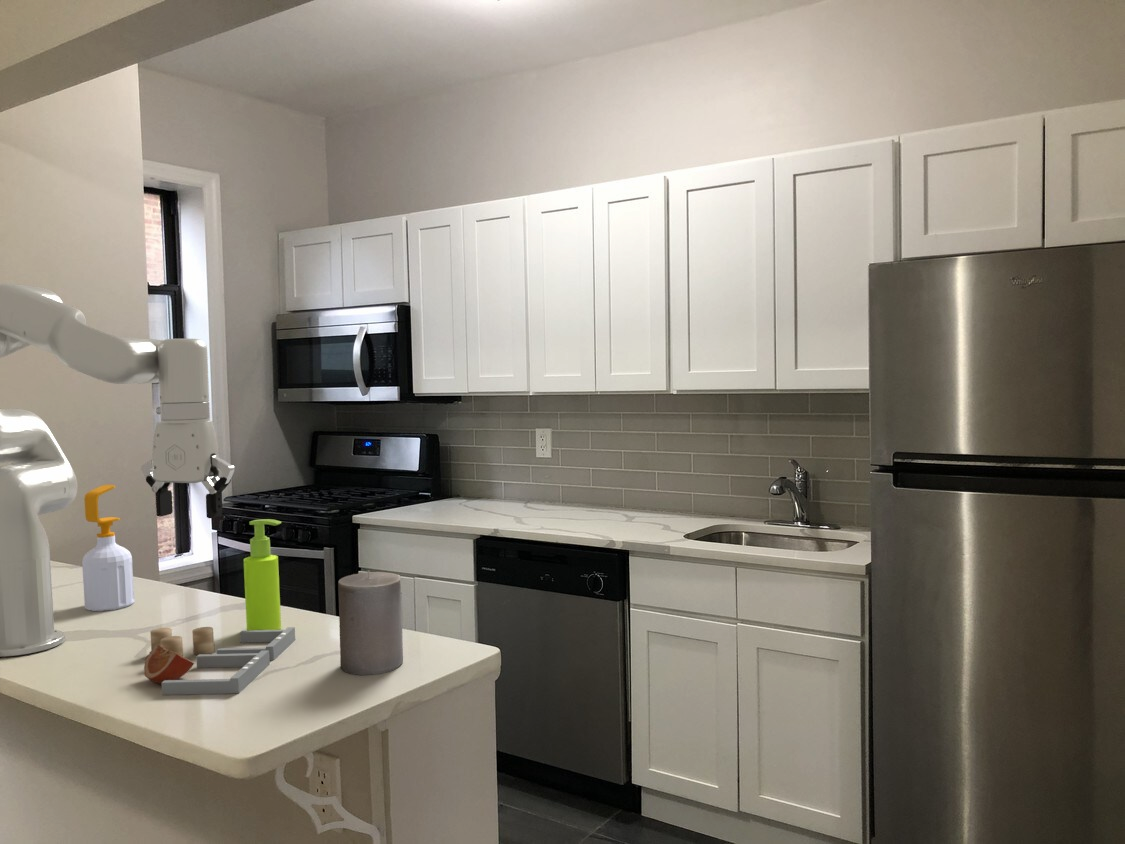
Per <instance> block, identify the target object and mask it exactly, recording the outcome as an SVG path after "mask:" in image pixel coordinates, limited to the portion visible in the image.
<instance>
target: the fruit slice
mask: <svg viewBox="0 0 1125 844" xmlns="http://www.w3.org/2000/svg"><path fill="white" fill-rule="evenodd" d="M194 665H195V662H193V661H191V660H189V659H188V658H186V657H185V656H184V655H183V656H181V655H179V654H177V653H175V652H172V651H171V649H169V650H167V649H165V648H163V647H161V646H159V645H157V644H156V645H155V646H154V648H153V649H152V651H151V650H150V651H149V654H148V655H147V656H146V657H145V662H144V666H143V673H144V676H145V677H146V678H147V679H148V680H149V681H151V682H154V683H158V684H162V682H163V681H164V680H179V679H180V678H181V677H184V676H185V674H187V673H188V672H189V671H190V670H191V669H192V667H193V666H194Z"/></svg>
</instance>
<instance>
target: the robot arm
mask: <svg viewBox="0 0 1125 844" xmlns="http://www.w3.org/2000/svg"><path fill="white" fill-rule="evenodd" d="M87 324H88V323H87V319H86V317H85V314H84V313H83V312H82V310H80V309H79V308H77V307H74V306H71V305H69V304H67V303H64V302H63V300H62V299H61V297H60V296H59V295H58V294H57V293H56V292H55V291H54V292H53V291H52V290H50V289H48V288H45V287H43V286H34V285H25V284H18V283H8V282H5V283H4V282H3V283H0V359H1V358H5V357H7V356H9V355H12V354H14V353H16V352H18V351H20V350H22V349H25V348H27V347H28V346H34V347H36V348H39V349H41V350H44V351H46V352H48V353H51V354H53V355H54V357H55V358H56V359H58V361H59V362H60V363H62V364H63V365H64V366H66V367H67V368H70V369H72V370H73V371H76V372H79V373H81V374H84V375H86V376H88V377H92V378H94V379H97V380H99V381H102V382H105V383H108V384H114V385H127V384H128V385H129V384H131V385H132V384H138V385H139V384H140V385H141V384H142V385H143V384H157V383H158V385H159V403H160V404H159V406H157V407H156V410H155V413H156V415H160V421H159V422H156V423H155V424H156V425H155V428H154V434H153V441H152V442H153V443H152V457H151V459H150V460H148V461H147V462H145V463H144V464H142V465H141V466H140V470H142V471H141V472H142V474H143V475H144V477H145V482H146V483H147V485H149V486H150V488H151V492H152V493H154V494H155V495H154V496H155V510H156V514H155V515H156V516H157V517H164V516H165V517H166V516H169V515H172V514H173V493H172V490H170V489H169V488H170V487H171V486H172V484H176V483H177V484H178V483H179V484H197V483H202V485H203V486H204V487H205V489H206V491H208V493H206V495H205V510H206V518H207V519H214V518H218V517H221V516H222V515H223V493H224V492H225V491H226V488H227V487H228V486H229V484H230V483H231V481H232V479H231V478H233V475H234V473H235V470H236V468H235V466H234V465H232V464H231V463H229V462H228V461H226V460H224V459H223V458H221V457H220V455H219V445H218V444H219V443H218V439H217V433H216V430H215V424H214V421H212V420H211V415H210V414H211V413H210V393H209V392H210V390H209V387H210V386H209V365H208V364H209V363H208V358H209V357H208V348H207V345H206V342H205V341H203V340H201V339H198V338H166V339H156V338H155V339H154V338H140V337H126V336H124V337H122V336H115V335H111V334H110V333H106V332H104V331H101V330H98V329H96V328H94V327H91V326H89V325H87ZM5 463H6V465H2V466H0V658H1V657H2V658H3V657H6V658H7V657H14V656H23V655H29V654H33V653H38V652H42V651H46V650H49V649H53V648H54V647H57V646H59V645H61V644H63V643H64V641H66V633H65V632H64V631H62V630H58V629H55V621H54V619H55V618H54V601H53V588H52V587H53V586H52V585H53V584H52V572H51V570H52V568H51V567H52V566H51V553H50V542H49V538H48V535H47V532H46V529H45V528H44V526H43V524H42V522H41V520H40V518H39V516H40V515H41V516H42V515H46V514H50V513H54V512H58V511H60V510H61V511H62V510H63V509H65V508H68V507H69V506H70V505H71V504H72V503H73V502H74V501H75V499H76V497H77V494H78V488H79V487H78V486H79V484H78V478H77V476H76V473H75V471H74V468H73V467H72V465H71V463H70V461H69V460H68V458H67V456H66V455H65V453H64V451H63V449H62V448H61V446H60V444H59V442H58V441H57V439H56V438H55V435H53V433H52V431H51V429H50V428H49V426H48V425H47V423H46V422H45V421H44V420H43V419H42V418H41V417H40V416H39V415H37V414H36V413H34V412H33V411H30V410H26V409H23V408H5V409H3V408H0V464H5ZM7 463H10V464H8V465H7ZM220 472H221V474H220ZM220 475H221V476H220ZM219 476H220V477H219Z"/></svg>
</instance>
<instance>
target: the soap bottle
mask: <svg viewBox="0 0 1125 844" xmlns="http://www.w3.org/2000/svg"><path fill="white" fill-rule="evenodd" d="M115 488H116V485H115V484H103V485H100V486H98V487H96V488H93V489H91V490H90V491H87V492H86V493H85V495H84V514H85V515H84V516H85V520H86V521H88V522H91V523H97V527H100V532H99V533H96V543H97V544H96V546H95V547H93V548H92V549H90V550H88V552H86V553H85V554H84V555H83V558H82V560H81V561H82V562H81V565H82V580H83V581H82V582H83V599H84V609H85V610H87V611H90V610H92V611H91V612H105V611H104V610H110V611H114V609H116V610H119V609H120V608H121V609H125V608H127V607H129V606H131V605H132V604H134V603H135V591H134V588H135V587H134V572H133V557H132V553H131V552H130V551H129V550H128V549H127V548H126V547H124V546H121V545H119V544H118V543H116V535H115V533H116V532H114V531H111V526H113V525H114V524H113V523H114V522H117V521H120V520H121V518H120V517H113V516H108V517H107V516H106V517H101V518H100V516H99V515H100V514H99V498H100V496H102V494H103V495H104V494H105V493H107V492H109V491H111V490H113V489H115ZM124 607H125V608H124Z"/></svg>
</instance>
